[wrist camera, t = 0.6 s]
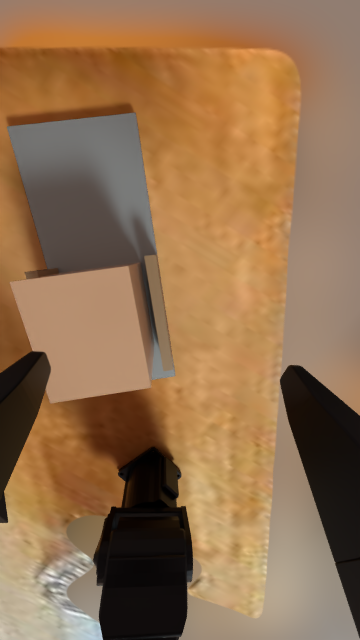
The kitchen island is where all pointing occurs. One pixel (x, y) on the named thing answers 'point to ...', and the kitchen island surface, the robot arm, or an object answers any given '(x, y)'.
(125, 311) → the block
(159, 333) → the chute
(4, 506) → the black rectangular piece
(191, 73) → the kitchen island surface
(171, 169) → the kitchen island surface
